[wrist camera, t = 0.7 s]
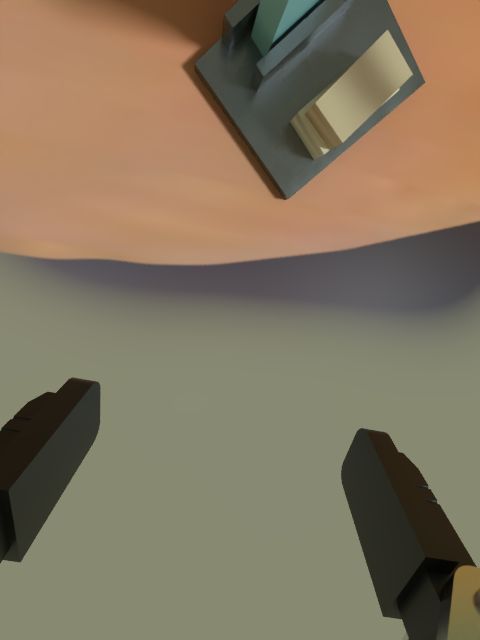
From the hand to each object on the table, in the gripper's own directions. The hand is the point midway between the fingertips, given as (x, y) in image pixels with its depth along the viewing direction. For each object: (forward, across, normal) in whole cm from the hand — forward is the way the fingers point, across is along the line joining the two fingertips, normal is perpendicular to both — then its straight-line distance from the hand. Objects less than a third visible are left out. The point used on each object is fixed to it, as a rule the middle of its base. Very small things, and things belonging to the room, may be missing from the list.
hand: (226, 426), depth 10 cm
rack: (+27, -3, -17) cm, 32 cm away
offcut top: (+24, -6, -15) cm, 29 cm away
